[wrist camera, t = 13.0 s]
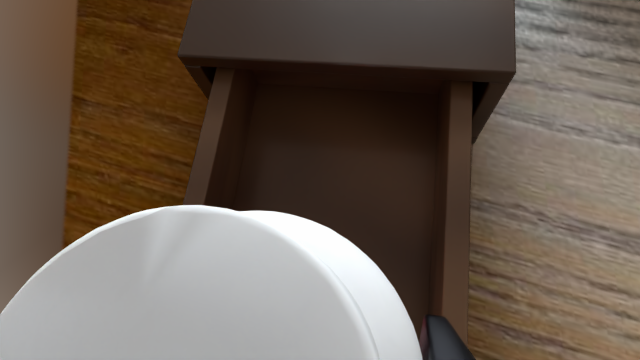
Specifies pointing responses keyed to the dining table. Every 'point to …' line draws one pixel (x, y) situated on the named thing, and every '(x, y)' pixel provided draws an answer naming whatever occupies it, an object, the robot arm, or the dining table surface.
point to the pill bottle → (208, 294)
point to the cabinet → (359, 41)
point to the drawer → (352, 169)
